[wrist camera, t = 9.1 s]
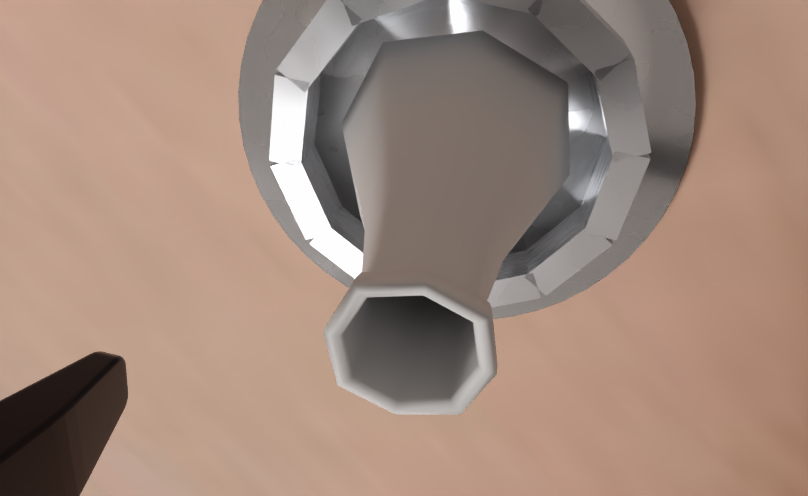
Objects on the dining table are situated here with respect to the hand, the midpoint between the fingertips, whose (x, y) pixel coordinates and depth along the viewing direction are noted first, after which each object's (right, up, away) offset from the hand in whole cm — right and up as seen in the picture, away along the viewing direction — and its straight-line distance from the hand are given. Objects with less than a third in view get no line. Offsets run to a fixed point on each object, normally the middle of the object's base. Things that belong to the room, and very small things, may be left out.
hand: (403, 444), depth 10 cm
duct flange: (+2, +7, +10) cm, 12 cm away
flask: (+2, +6, +10) cm, 12 cm away
